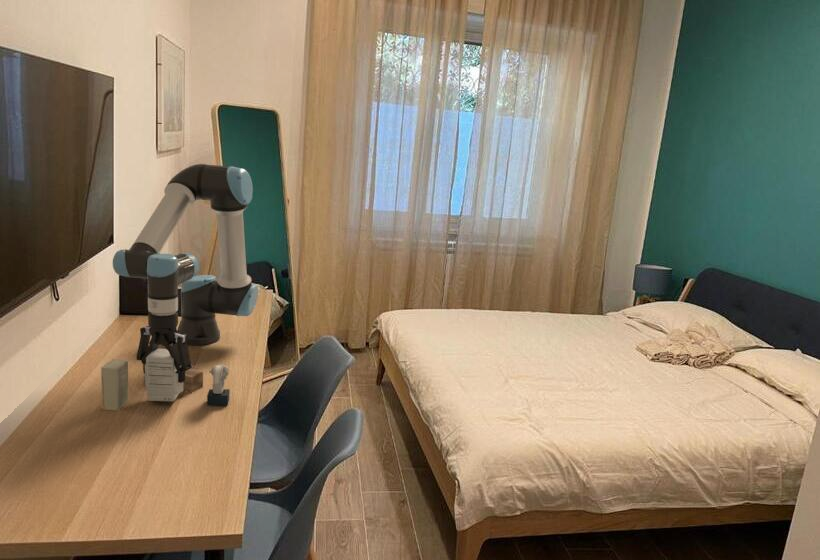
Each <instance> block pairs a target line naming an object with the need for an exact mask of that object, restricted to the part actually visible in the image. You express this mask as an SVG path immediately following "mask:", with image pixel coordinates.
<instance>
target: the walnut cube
mask: <svg viewBox="0 0 820 560" xmlns="http://www.w3.org/2000/svg"><path fill="white" fill-rule="evenodd" d="M201 388H202V389H203V388H204V371H201V370H198V369H195V368H193V369H189V370H187V371H185V381H184V382H183V392H186V391H187V392H186V393H191V394H192V392H193V393H194V392H196V391H198V390H200V389H201Z"/></svg>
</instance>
